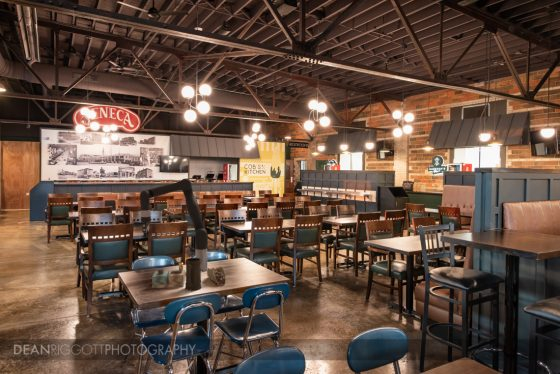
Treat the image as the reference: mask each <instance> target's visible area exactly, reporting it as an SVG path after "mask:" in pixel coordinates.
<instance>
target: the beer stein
mask: <svg viewBox="0 0 560 374" xmlns="http://www.w3.org/2000/svg"><path fill="white" fill-rule="evenodd" d="M200 265H201V259H200V258H196V257H191V258H190V257H189V258H186V259H185V283H184V285H185V286H184V287H185V288H184V290H186V291H191V292H192V291H193V292H194V291H198V290H200V289H202V271H201V267H200Z"/></svg>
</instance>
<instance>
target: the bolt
mask: <svg viewBox="0 0 560 374" xmlns="http://www.w3.org/2000/svg"><path fill="white" fill-rule="evenodd" d="M183 270H184V262H178V269H171V270H169V274H170V273H171V272H172V271H182V272H183Z"/></svg>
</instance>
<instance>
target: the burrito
mask: <svg viewBox="0 0 560 374" xmlns="http://www.w3.org/2000/svg"><path fill="white" fill-rule="evenodd" d="M206 273H207V274H206V275H207V277H208V278H209V279H211V280H212V281H213V282H214V283H216V285H218V286H219V287H222V286H225V285H226V280H227V277H226V275H227V273H226V271H225V269H224V267H223V266H219V267H217V268H214V267H212V268H209V267H207V271H206Z"/></svg>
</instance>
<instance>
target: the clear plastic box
mask: <svg viewBox="0 0 560 374" xmlns="http://www.w3.org/2000/svg"><path fill="white" fill-rule="evenodd" d="M151 280H152V281H151V283H152V284H151V286H152V287H151V288H152V289H164V288H167V289H168V288H169V289H170V288H183V287H185V286H184V285H185V283H186V269H183V272H182V271H172V272H171V273H170V270H164V268H163V267H162V268H158V269H157V270H156V271H154V273H153V275H152V276H151Z"/></svg>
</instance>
